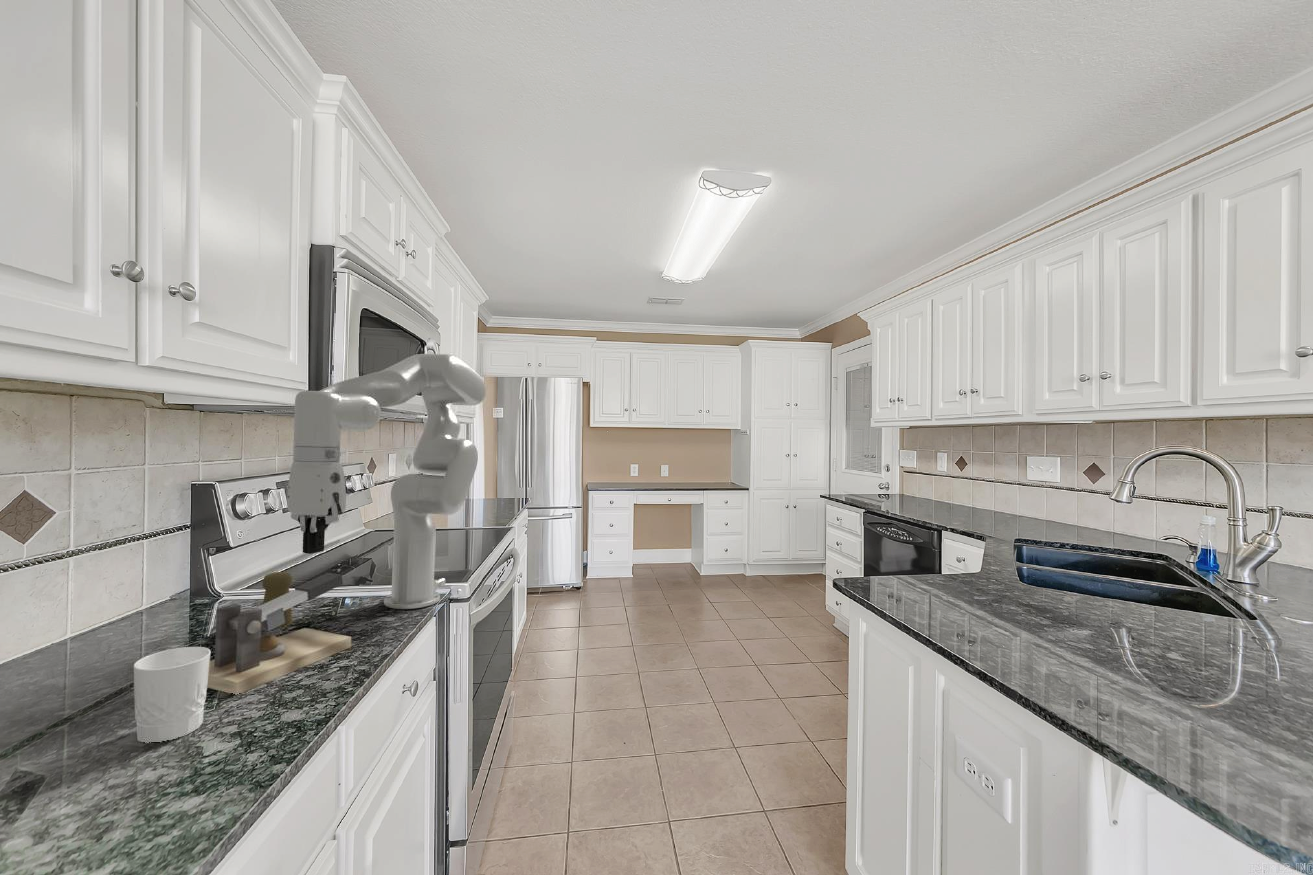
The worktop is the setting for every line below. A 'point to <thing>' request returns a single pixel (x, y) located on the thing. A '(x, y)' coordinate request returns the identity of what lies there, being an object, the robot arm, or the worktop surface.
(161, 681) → the white cup
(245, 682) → the nutcracker base
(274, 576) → the cork
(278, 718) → the worktop surface
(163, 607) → the worktop surface
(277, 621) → the lever
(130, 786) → the worktop surface
